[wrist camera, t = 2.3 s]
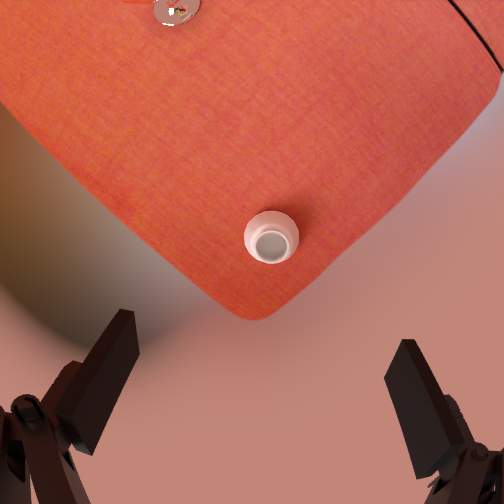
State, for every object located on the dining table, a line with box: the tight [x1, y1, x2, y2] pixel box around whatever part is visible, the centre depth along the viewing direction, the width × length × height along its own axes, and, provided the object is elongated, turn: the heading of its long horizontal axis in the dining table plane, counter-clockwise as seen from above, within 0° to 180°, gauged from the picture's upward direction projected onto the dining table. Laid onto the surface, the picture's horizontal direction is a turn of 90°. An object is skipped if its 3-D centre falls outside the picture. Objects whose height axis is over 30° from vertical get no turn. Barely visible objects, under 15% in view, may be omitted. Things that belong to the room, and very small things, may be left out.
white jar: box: [244, 210, 299, 263], centre depth 28 cm, size 5×3×5 cm
